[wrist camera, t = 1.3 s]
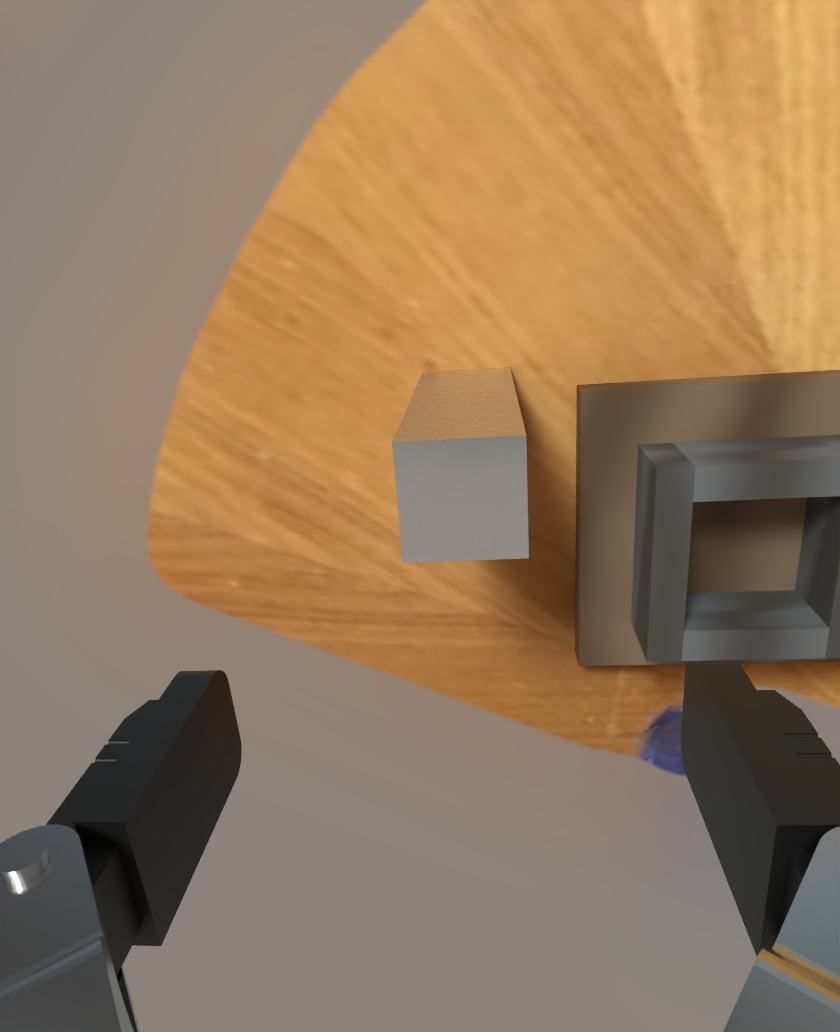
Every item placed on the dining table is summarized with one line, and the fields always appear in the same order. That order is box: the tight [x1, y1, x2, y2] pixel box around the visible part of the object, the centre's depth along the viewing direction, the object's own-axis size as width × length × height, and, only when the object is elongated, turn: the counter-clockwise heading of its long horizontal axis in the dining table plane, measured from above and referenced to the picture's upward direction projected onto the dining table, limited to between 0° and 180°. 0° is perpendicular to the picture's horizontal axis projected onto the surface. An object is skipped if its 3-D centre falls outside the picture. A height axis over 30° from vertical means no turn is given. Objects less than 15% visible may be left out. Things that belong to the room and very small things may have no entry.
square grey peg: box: [392, 367, 529, 563], centre depth 27 cm, size 4×4×12 cm
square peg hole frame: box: [575, 370, 840, 666], centre depth 31 cm, size 14×14×5 cm
